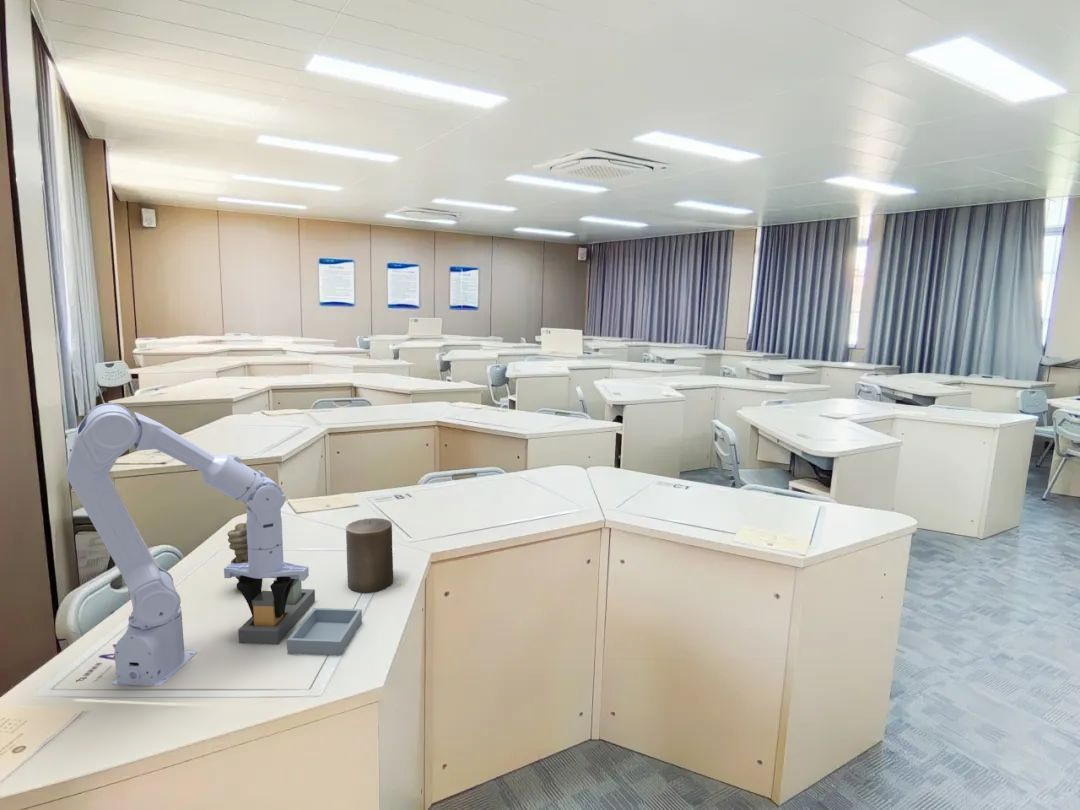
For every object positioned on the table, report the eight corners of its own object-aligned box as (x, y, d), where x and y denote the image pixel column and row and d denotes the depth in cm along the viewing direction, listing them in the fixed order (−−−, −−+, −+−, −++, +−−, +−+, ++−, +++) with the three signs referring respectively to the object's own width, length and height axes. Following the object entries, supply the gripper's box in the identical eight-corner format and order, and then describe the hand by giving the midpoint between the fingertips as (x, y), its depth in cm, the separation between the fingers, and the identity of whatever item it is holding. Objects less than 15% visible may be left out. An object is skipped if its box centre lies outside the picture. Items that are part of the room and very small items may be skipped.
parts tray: (340, 658, 100) (340, 641, 99) (287, 656, 100) (286, 639, 99) (362, 624, 111) (361, 609, 110) (314, 622, 111) (313, 607, 111)
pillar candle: (401, 586, 127) (400, 520, 125) (359, 599, 120) (358, 530, 118) (379, 572, 134) (378, 509, 132) (339, 584, 127) (337, 518, 125)
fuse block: (278, 647, 103) (277, 631, 102) (239, 645, 103) (238, 629, 102) (315, 603, 118) (314, 589, 118) (281, 602, 118) (280, 588, 118)
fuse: (294, 615, 112) (293, 581, 111) (275, 614, 113) (273, 580, 112) (302, 605, 116) (301, 572, 115) (284, 605, 116) (282, 572, 115)
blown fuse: (274, 637, 105) (273, 601, 104) (253, 636, 105) (252, 600, 104) (284, 626, 108) (282, 591, 107) (264, 625, 108) (262, 590, 107)
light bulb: (247, 599, 119) (244, 529, 117) (224, 596, 120) (220, 526, 118) (265, 587, 125) (262, 520, 123) (243, 584, 126) (240, 517, 124)
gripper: (314, 536, 108) (316, 605, 110) (237, 534, 108) (241, 602, 110) (297, 551, 101) (300, 624, 103) (215, 549, 101) (220, 622, 103)
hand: (268, 614), depth 106 cm, fingers closed on blown fuse, 4 cm apart
